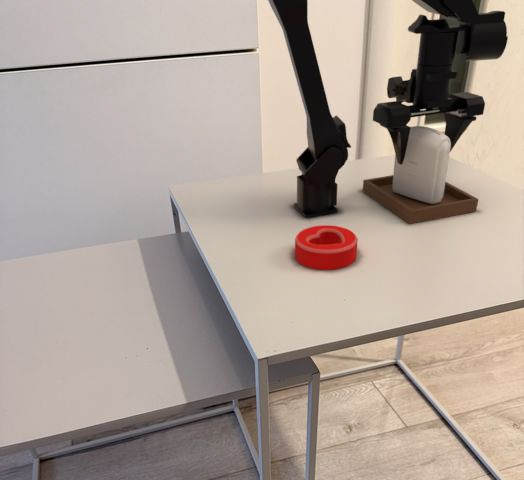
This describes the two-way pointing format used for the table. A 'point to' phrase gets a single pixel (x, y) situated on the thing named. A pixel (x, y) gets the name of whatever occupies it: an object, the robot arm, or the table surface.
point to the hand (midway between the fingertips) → (422, 160)
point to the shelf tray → (415, 209)
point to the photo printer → (423, 166)
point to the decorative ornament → (326, 247)
